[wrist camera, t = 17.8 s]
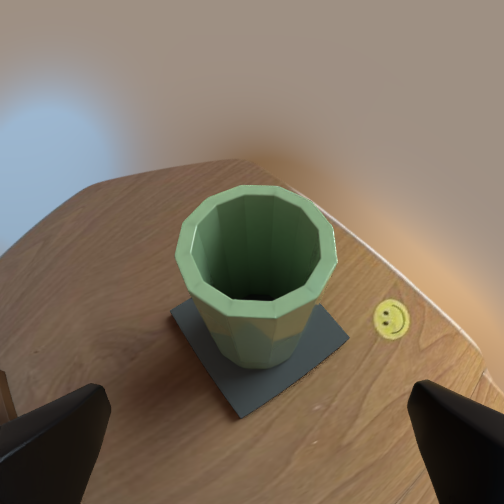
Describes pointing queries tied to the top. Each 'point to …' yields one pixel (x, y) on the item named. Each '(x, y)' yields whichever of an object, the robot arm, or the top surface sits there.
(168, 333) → the top surface
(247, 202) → the green faceted tube
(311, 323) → the mat
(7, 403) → the stand
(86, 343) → the top surface
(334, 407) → the top surface
